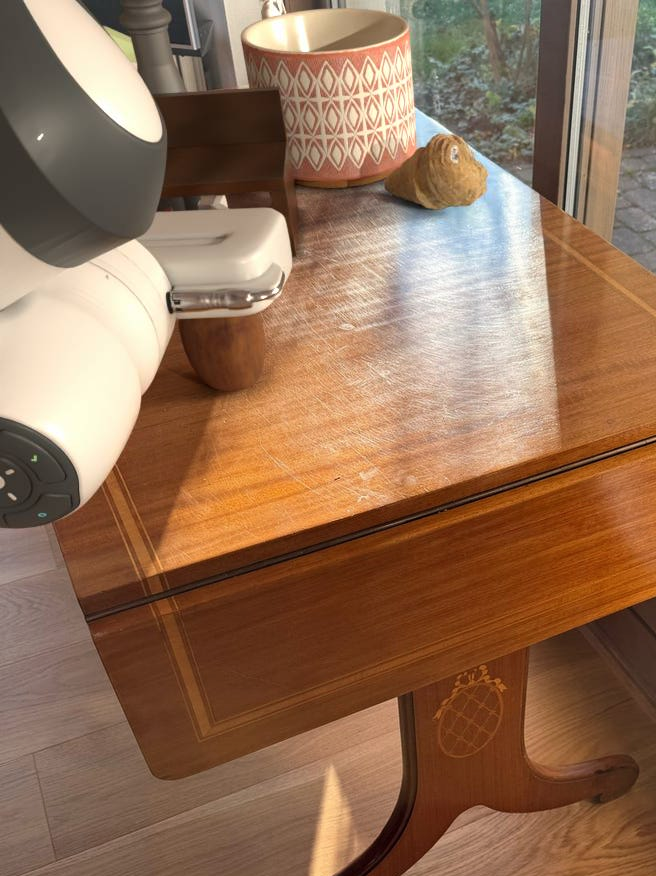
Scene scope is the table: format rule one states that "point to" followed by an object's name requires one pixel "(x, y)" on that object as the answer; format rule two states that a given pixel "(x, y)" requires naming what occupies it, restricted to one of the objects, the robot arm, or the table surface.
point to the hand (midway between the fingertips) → (143, 210)
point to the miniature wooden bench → (229, 147)
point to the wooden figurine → (225, 349)
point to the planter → (338, 91)
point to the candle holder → (155, 61)
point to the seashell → (440, 175)
